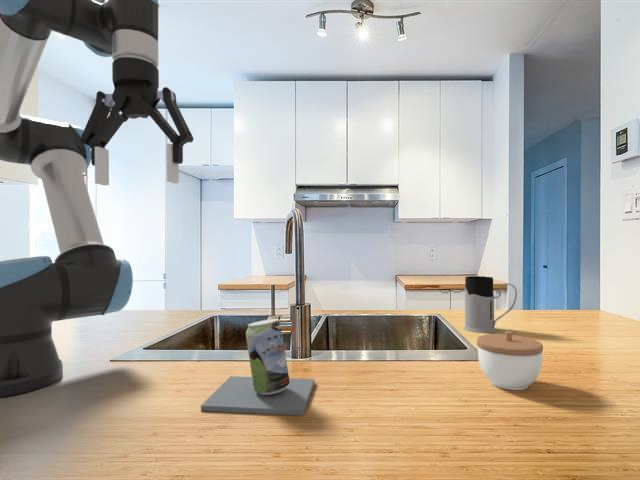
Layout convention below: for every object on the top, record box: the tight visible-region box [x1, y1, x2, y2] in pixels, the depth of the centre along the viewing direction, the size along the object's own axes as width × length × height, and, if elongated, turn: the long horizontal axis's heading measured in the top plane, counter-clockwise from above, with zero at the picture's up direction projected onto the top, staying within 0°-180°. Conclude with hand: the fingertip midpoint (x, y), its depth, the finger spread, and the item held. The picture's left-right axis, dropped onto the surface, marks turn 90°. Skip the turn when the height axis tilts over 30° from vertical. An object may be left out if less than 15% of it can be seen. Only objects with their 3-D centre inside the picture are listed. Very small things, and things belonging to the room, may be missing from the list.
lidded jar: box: [476, 331, 544, 391], centre depth 70 cm, size 11×11×9 cm
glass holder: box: [463, 275, 518, 334], centre depth 111 cm, size 9×14×15 cm, turn 54°
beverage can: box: [245, 318, 290, 395], centre depth 65 cm, size 6×7×12 cm
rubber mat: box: [200, 375, 316, 417], centre depth 66 cm, size 16×13×1 cm
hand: (137, 183), depth 69 cm, fingers open, 13 cm apart
